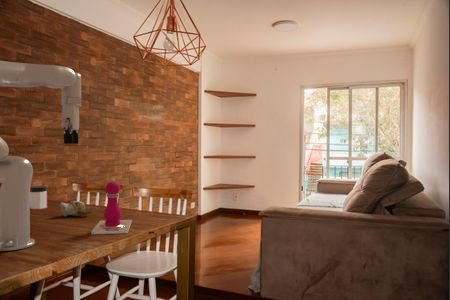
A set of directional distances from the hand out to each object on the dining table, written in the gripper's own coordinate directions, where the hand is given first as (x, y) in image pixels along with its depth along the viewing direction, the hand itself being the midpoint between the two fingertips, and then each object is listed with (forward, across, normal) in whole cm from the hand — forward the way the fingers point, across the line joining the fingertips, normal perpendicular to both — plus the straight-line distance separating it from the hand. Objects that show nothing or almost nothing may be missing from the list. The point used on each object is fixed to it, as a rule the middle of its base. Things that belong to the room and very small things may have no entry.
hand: (71, 143), depth 143 cm
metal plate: (+36, -2, +16) cm, 40 cm away
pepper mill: (+35, -2, +16) cm, 39 cm away
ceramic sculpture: (+37, -32, -5) cm, 49 cm away
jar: (+36, -56, -31) cm, 74 cm away
